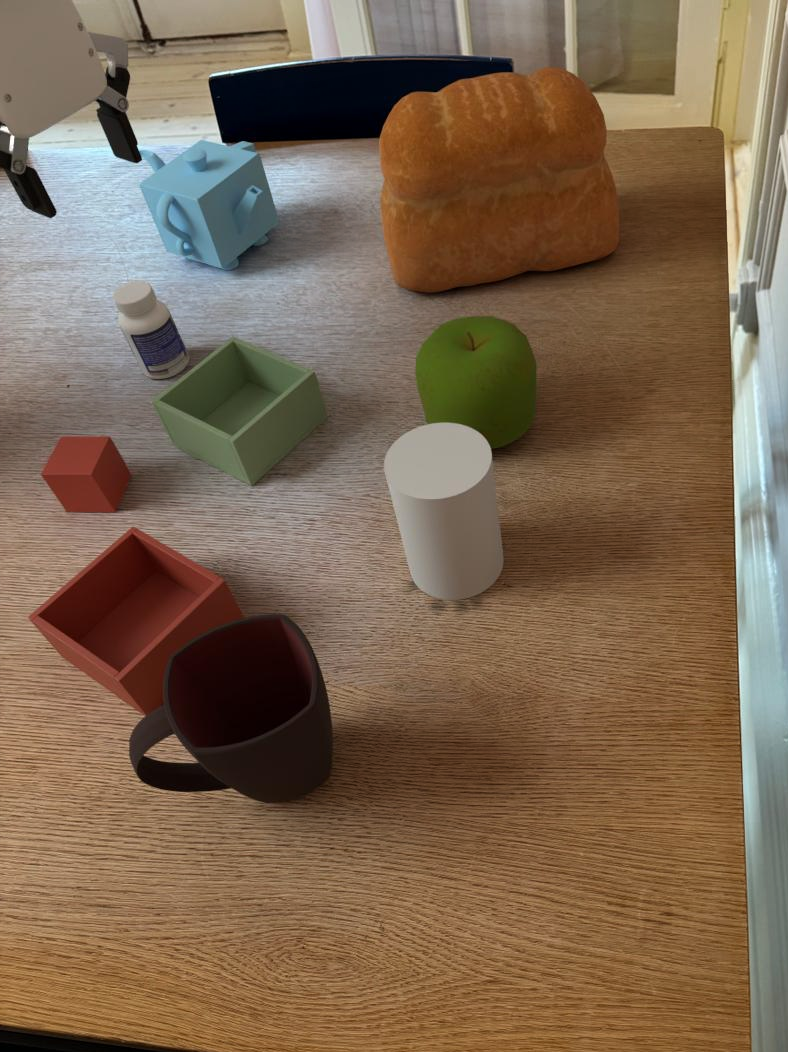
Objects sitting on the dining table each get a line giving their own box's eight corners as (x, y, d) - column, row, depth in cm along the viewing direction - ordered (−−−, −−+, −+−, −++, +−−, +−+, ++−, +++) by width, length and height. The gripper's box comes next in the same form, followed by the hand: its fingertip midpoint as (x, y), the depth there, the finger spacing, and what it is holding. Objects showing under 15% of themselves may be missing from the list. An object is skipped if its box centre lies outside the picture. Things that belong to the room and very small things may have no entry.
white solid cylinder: (518, 541, 76) (509, 436, 67) (479, 611, 72) (463, 510, 63) (435, 517, 79) (414, 413, 69) (393, 584, 75) (364, 483, 65)
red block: (66, 512, 84) (40, 474, 80) (84, 474, 87) (60, 436, 83) (115, 512, 83) (91, 474, 79) (132, 474, 86) (110, 436, 82)
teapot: (238, 298, 102) (204, 202, 92) (129, 263, 108) (87, 170, 99) (321, 227, 109) (296, 132, 100) (213, 198, 115) (181, 106, 106)
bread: (628, 263, 98) (636, 97, 84) (398, 307, 98) (367, 148, 84) (593, 192, 107) (595, 32, 93) (382, 232, 107) (352, 77, 93)
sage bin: (172, 445, 88) (150, 401, 83) (250, 381, 93) (233, 336, 88) (251, 486, 84) (232, 442, 79) (329, 416, 88) (315, 371, 84)
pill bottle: (200, 358, 96) (168, 284, 89) (165, 386, 94) (130, 313, 86) (166, 344, 98) (133, 271, 91) (132, 371, 96) (95, 298, 88)
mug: (373, 794, 64) (335, 711, 54) (188, 871, 62) (114, 799, 52) (334, 689, 69) (293, 596, 60) (163, 756, 67) (92, 671, 58)
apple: (464, 484, 81) (449, 389, 72) (405, 423, 87) (384, 328, 78) (562, 431, 84) (559, 333, 75) (498, 375, 89) (489, 278, 81)
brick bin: (61, 656, 74) (27, 617, 69) (159, 568, 79) (133, 525, 74) (149, 719, 70) (118, 681, 65) (247, 621, 74) (225, 579, 70)
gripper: (40, -99, 68) (133, 131, 82) (-157, -11, 61) (-18, 224, 75) (102, -89, 65) (187, 148, 79) (-98, 4, 58) (35, 247, 72)
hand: (87, 185), depth 77 cm, fingers open, 9 cm apart
